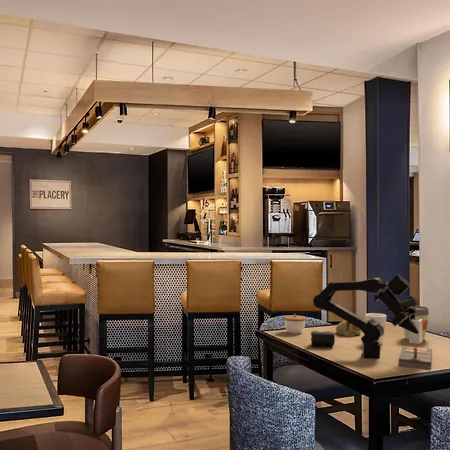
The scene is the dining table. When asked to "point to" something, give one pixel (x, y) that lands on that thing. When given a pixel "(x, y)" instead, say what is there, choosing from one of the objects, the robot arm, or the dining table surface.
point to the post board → (415, 357)
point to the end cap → (322, 339)
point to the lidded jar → (294, 323)
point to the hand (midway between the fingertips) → (419, 332)
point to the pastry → (347, 329)
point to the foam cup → (378, 318)
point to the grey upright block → (418, 325)
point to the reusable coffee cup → (420, 314)
